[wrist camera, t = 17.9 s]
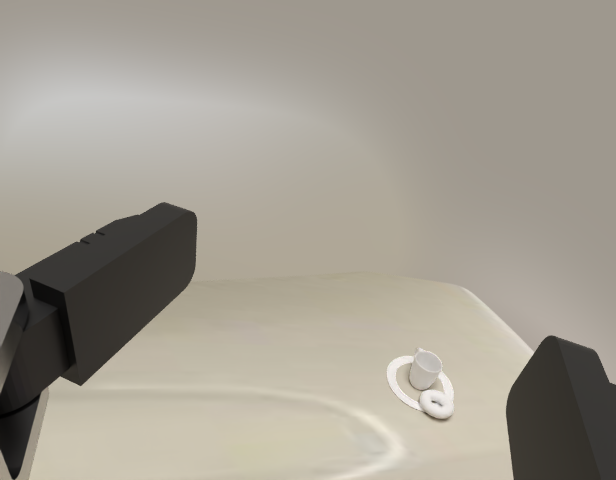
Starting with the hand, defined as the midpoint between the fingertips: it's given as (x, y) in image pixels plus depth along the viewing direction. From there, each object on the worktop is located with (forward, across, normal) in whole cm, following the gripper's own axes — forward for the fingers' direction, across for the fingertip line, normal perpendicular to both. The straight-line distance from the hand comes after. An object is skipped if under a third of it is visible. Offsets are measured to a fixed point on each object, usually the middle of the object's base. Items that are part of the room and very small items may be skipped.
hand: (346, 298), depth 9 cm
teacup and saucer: (+26, -8, +31) cm, 41 cm away
